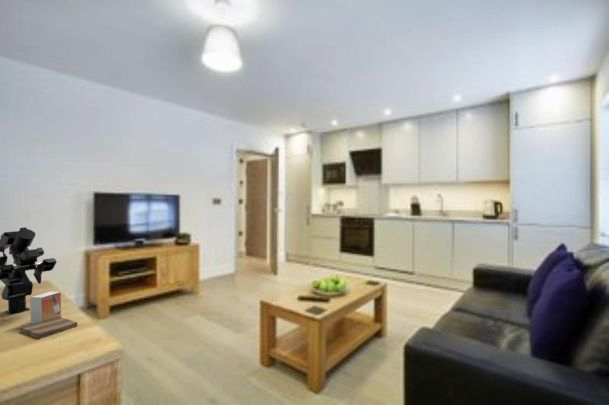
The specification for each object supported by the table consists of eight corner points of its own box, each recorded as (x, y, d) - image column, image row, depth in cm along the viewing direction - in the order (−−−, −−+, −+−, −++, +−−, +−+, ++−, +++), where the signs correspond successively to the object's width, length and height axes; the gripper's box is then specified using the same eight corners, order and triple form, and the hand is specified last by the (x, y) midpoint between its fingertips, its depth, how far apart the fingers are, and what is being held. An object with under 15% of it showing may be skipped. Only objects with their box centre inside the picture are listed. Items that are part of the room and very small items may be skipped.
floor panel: (20, 331, 117) (20, 327, 117) (58, 320, 128) (58, 316, 128) (39, 338, 111) (39, 334, 111) (77, 326, 121) (77, 322, 121)
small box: (41, 325, 123) (40, 297, 123) (30, 324, 124) (29, 296, 124) (61, 317, 131) (61, 291, 131) (50, 316, 132) (50, 291, 132)
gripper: (-2, 245, 125) (11, 276, 120) (53, 239, 142) (68, 266, 136) (-10, 264, 129) (3, 295, 124) (45, 256, 145) (58, 283, 140)
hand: (35, 284), depth 131 cm, fingers open, 3 cm apart
